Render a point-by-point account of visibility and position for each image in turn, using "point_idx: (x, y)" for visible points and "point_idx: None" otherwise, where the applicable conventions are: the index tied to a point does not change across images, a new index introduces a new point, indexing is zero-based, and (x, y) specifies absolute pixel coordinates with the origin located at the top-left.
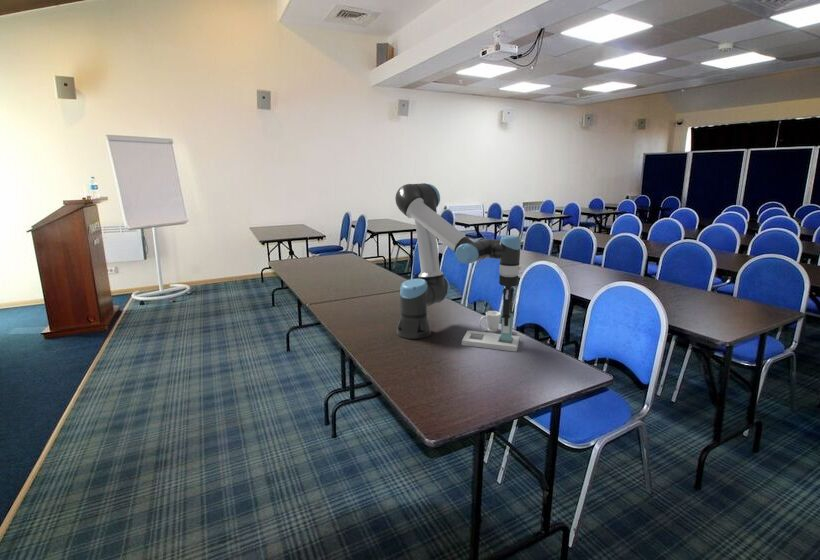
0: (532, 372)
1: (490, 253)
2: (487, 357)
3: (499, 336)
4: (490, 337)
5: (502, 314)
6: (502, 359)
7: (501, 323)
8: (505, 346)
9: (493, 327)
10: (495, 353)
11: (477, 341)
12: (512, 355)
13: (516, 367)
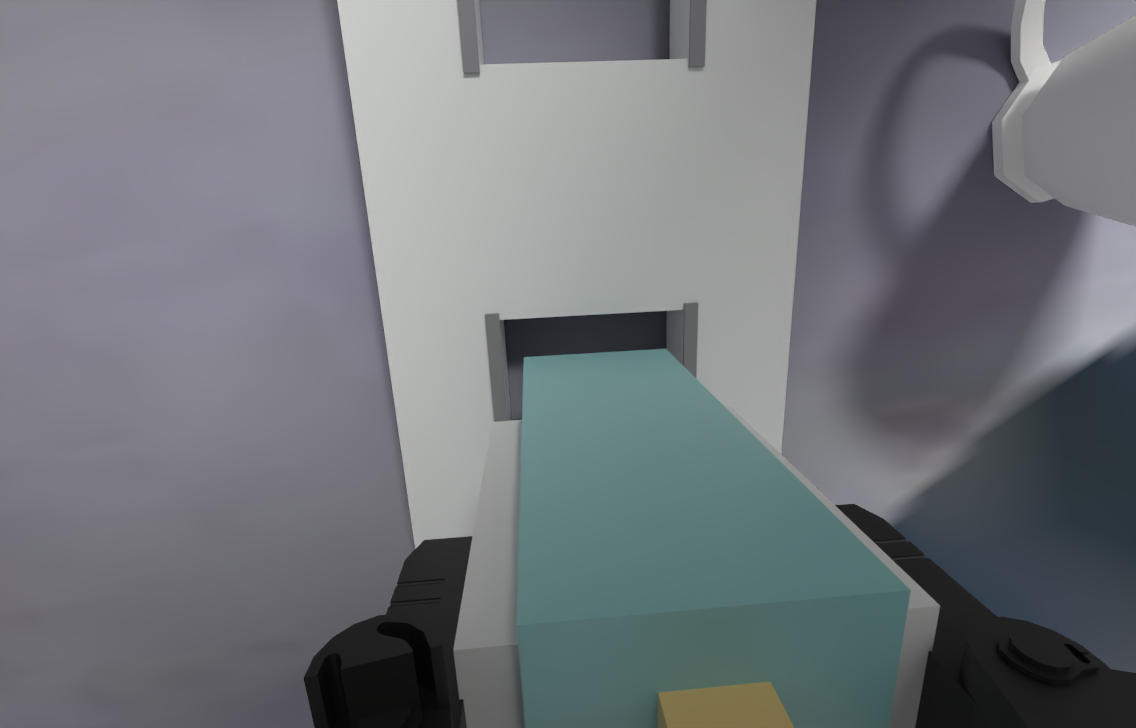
0: (8, 712)
1: None
2: (88, 249)
3: (689, 304)
4: (620, 182)
5: (685, 618)
6: (137, 424)
7: (522, 470)
8: (401, 428)
9: (1044, 150)
10: (266, 319)
11: (371, 2)
12: (307, 500)
13: (23, 581)
